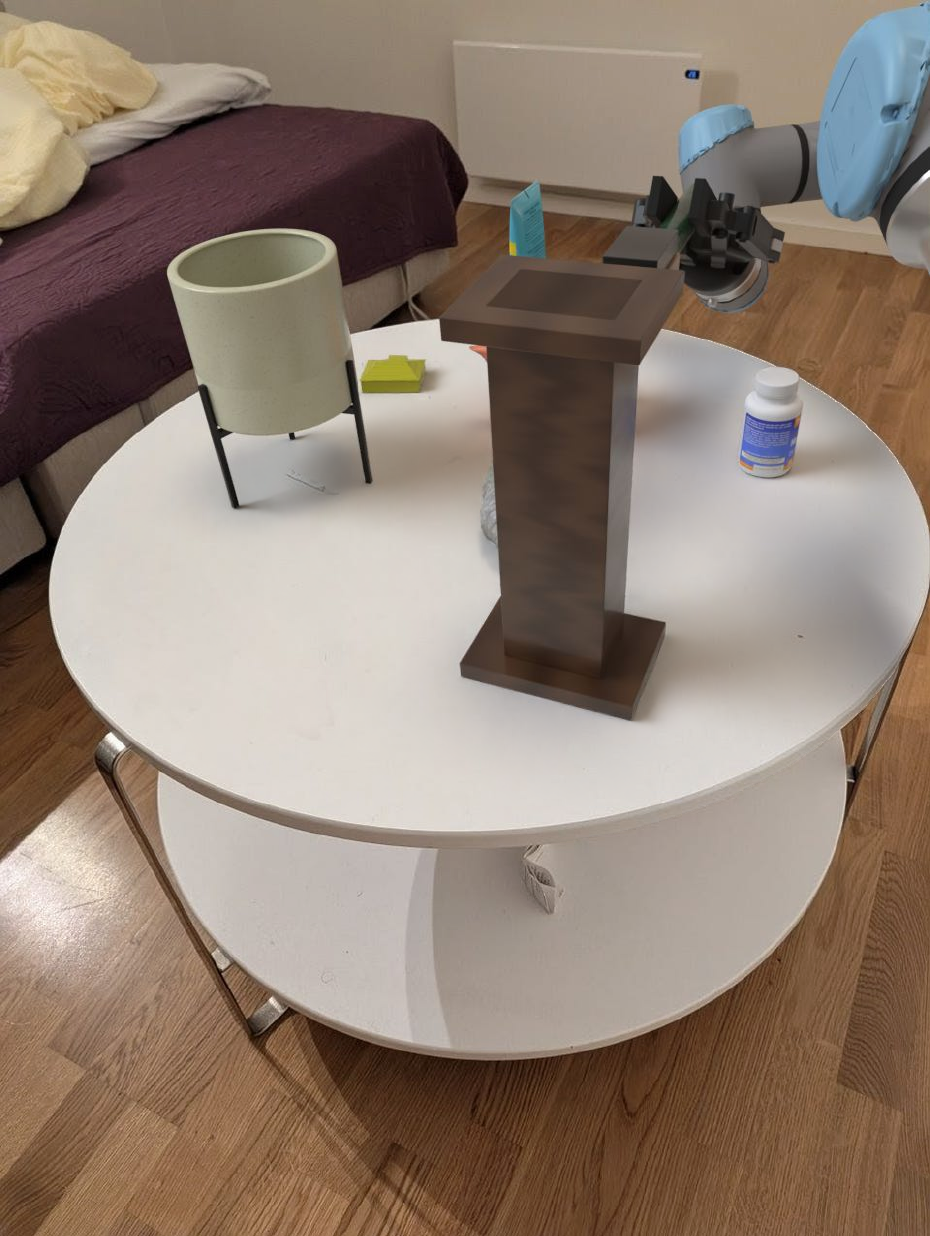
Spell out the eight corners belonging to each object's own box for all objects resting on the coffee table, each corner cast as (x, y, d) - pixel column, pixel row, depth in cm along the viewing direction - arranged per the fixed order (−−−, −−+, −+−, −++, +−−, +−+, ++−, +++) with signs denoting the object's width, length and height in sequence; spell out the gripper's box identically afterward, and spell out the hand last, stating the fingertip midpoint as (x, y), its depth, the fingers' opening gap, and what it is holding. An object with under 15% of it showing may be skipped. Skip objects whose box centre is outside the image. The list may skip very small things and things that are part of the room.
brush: (673, 210, 76) (677, 158, 73) (722, 214, 74) (728, 161, 72) (597, 316, 62) (598, 256, 59) (655, 323, 60) (659, 262, 58)
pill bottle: (797, 477, 91) (815, 388, 85) (742, 480, 91) (756, 391, 85) (784, 448, 95) (800, 361, 89) (731, 451, 95) (743, 364, 89)
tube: (522, 336, 119) (516, 178, 107) (557, 339, 118) (556, 180, 105) (502, 361, 114) (494, 199, 102) (539, 365, 113) (536, 202, 100)
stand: (664, 635, 75) (701, 271, 56) (631, 721, 69) (659, 342, 49) (506, 599, 80) (487, 252, 60) (460, 676, 74) (422, 315, 54)
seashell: (468, 553, 81) (484, 463, 78) (477, 517, 94) (491, 439, 91) (539, 566, 81) (558, 477, 78) (539, 529, 94) (555, 451, 91)
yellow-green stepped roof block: (347, 399, 110) (343, 377, 108) (362, 363, 116) (359, 342, 115) (430, 398, 108) (427, 376, 106) (440, 362, 115) (438, 341, 113)
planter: (343, 525, 90) (299, 295, 75) (201, 507, 94) (133, 286, 79) (397, 445, 101) (368, 230, 86) (267, 432, 105) (217, 224, 90)
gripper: (791, 305, 86) (773, 260, 65) (630, 289, 92) (565, 243, 70) (809, 219, 85) (797, 145, 63) (644, 208, 90) (581, 136, 68)
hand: (675, 197), depth 67 cm, fingers closed on brush, 2 cm apart
